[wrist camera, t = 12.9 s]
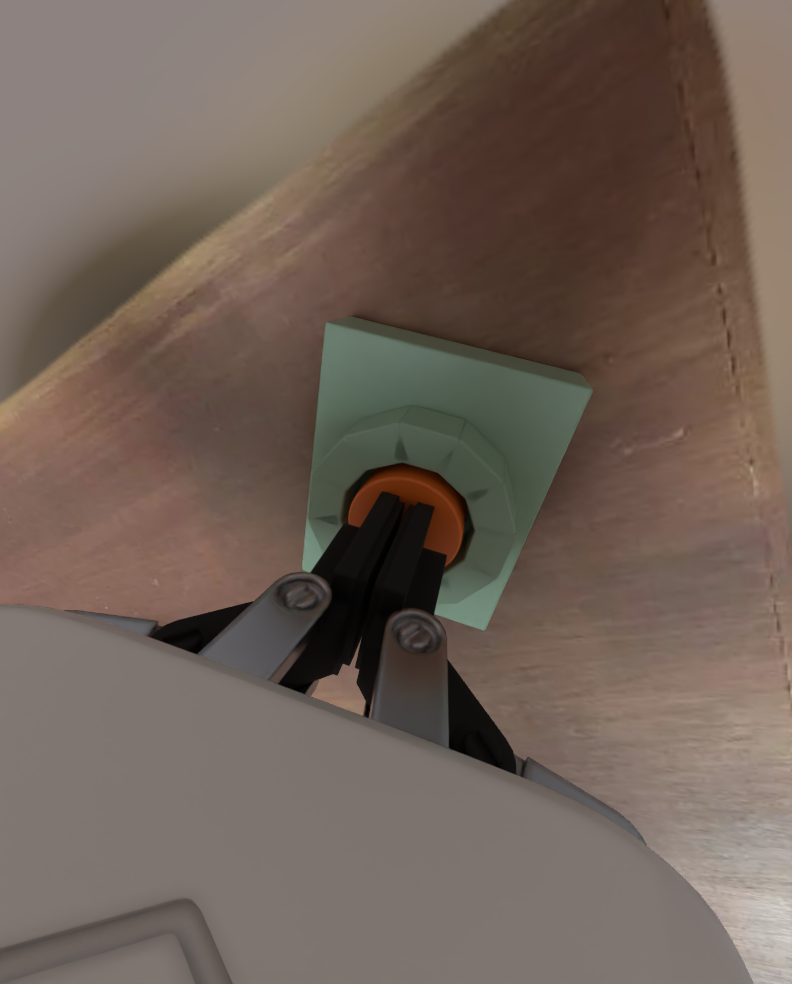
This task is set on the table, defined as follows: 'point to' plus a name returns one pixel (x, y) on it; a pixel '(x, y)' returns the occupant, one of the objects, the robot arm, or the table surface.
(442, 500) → the button
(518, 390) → the button block
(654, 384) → the table surface
